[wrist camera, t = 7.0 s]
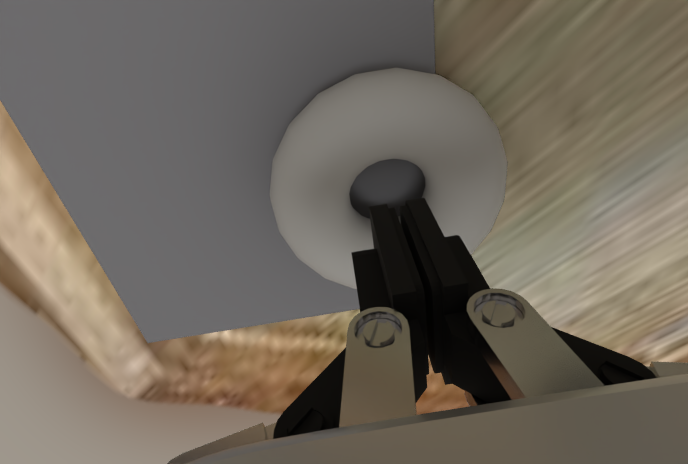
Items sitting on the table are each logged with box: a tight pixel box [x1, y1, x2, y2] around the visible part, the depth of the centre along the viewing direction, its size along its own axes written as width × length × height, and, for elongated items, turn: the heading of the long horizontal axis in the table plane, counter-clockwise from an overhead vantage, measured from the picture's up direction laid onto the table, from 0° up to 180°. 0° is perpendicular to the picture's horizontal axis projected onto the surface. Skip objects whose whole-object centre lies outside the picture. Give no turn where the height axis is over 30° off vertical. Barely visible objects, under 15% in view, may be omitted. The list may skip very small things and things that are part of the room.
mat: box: [0, 0, 435, 343], centre depth 19 cm, size 17×18×1 cm
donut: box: [270, 68, 508, 289], centre depth 17 cm, size 10×4×10 cm
